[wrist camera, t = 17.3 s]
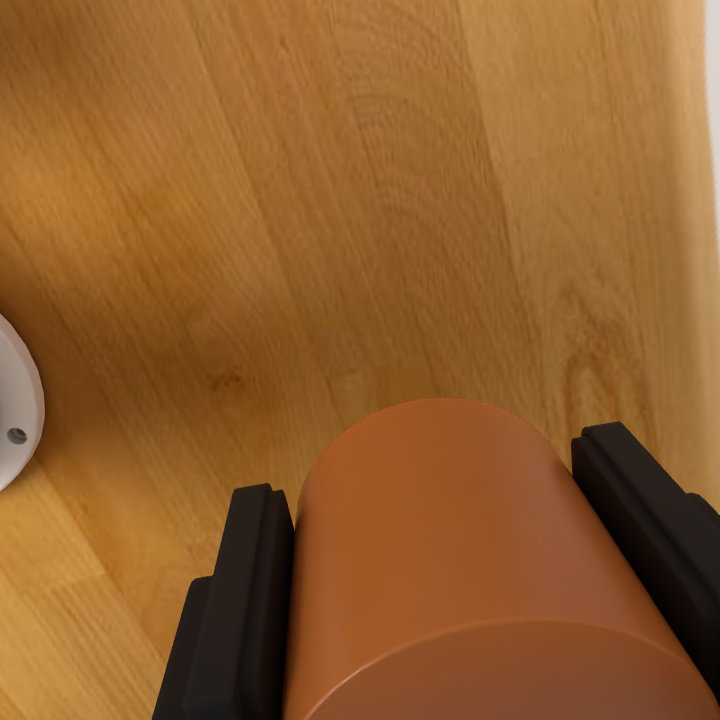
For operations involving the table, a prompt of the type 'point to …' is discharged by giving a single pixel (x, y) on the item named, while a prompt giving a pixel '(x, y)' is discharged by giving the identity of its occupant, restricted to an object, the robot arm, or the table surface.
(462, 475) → the orange cylinder
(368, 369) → the table surface
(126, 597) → the table surface
